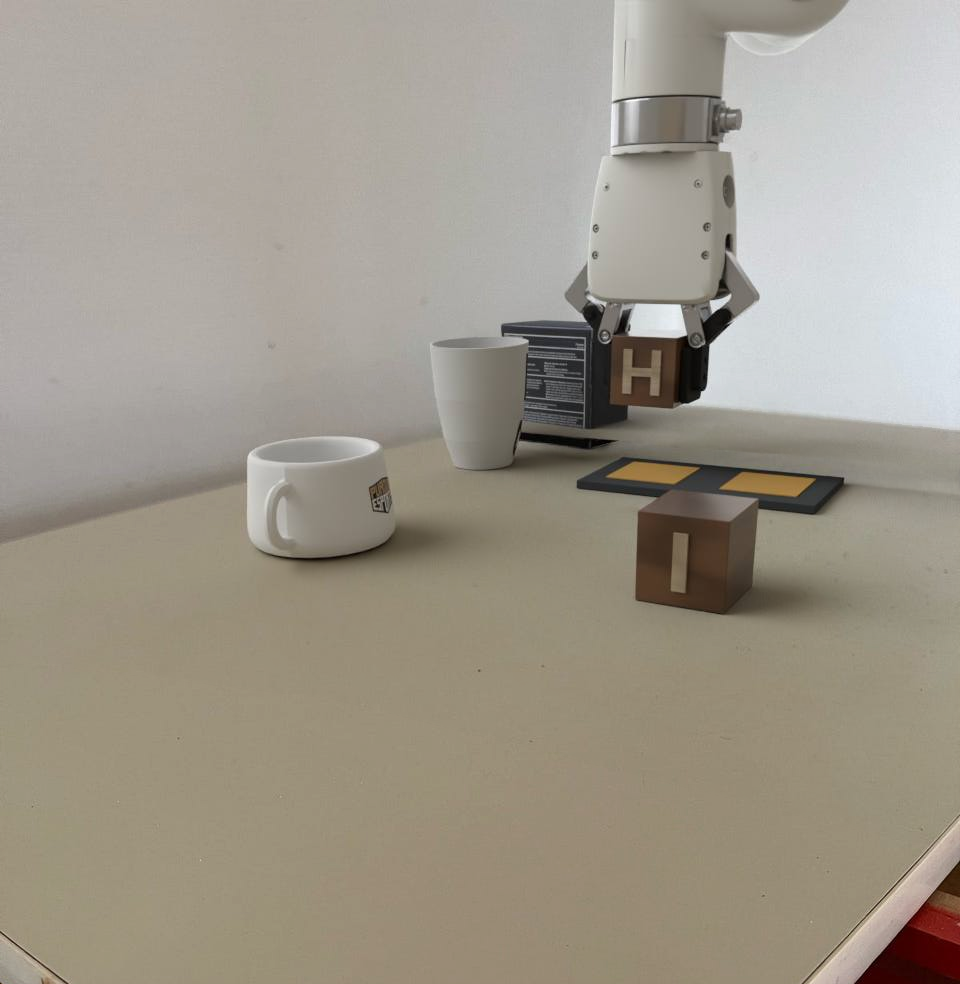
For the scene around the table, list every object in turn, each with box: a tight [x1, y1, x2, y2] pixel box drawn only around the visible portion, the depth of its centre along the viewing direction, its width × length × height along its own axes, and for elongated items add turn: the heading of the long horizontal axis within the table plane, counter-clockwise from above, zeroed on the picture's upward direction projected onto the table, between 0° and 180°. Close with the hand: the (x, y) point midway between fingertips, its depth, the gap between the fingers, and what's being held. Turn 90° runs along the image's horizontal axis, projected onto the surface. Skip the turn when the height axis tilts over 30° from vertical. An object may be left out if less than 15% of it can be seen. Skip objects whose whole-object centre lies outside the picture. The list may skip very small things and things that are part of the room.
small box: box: [500, 319, 631, 450], centre depth 94 cm, size 11×6×10 cm, turn 48°
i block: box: [634, 490, 759, 615], centre depth 56 cm, size 5×5×5 cm
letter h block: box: [610, 328, 688, 410], centre depth 77 cm, size 5×5×5 cm
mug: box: [246, 435, 396, 559], centre depth 66 cm, size 12×10×6 cm
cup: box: [429, 336, 529, 471], centre depth 86 cm, size 8×8×10 cm
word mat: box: [576, 456, 845, 515], centre depth 78 cm, size 18×9×1 cm, turn 60°
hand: (653, 395), depth 78 cm, fingers closed on letter h block, 5 cm apart
